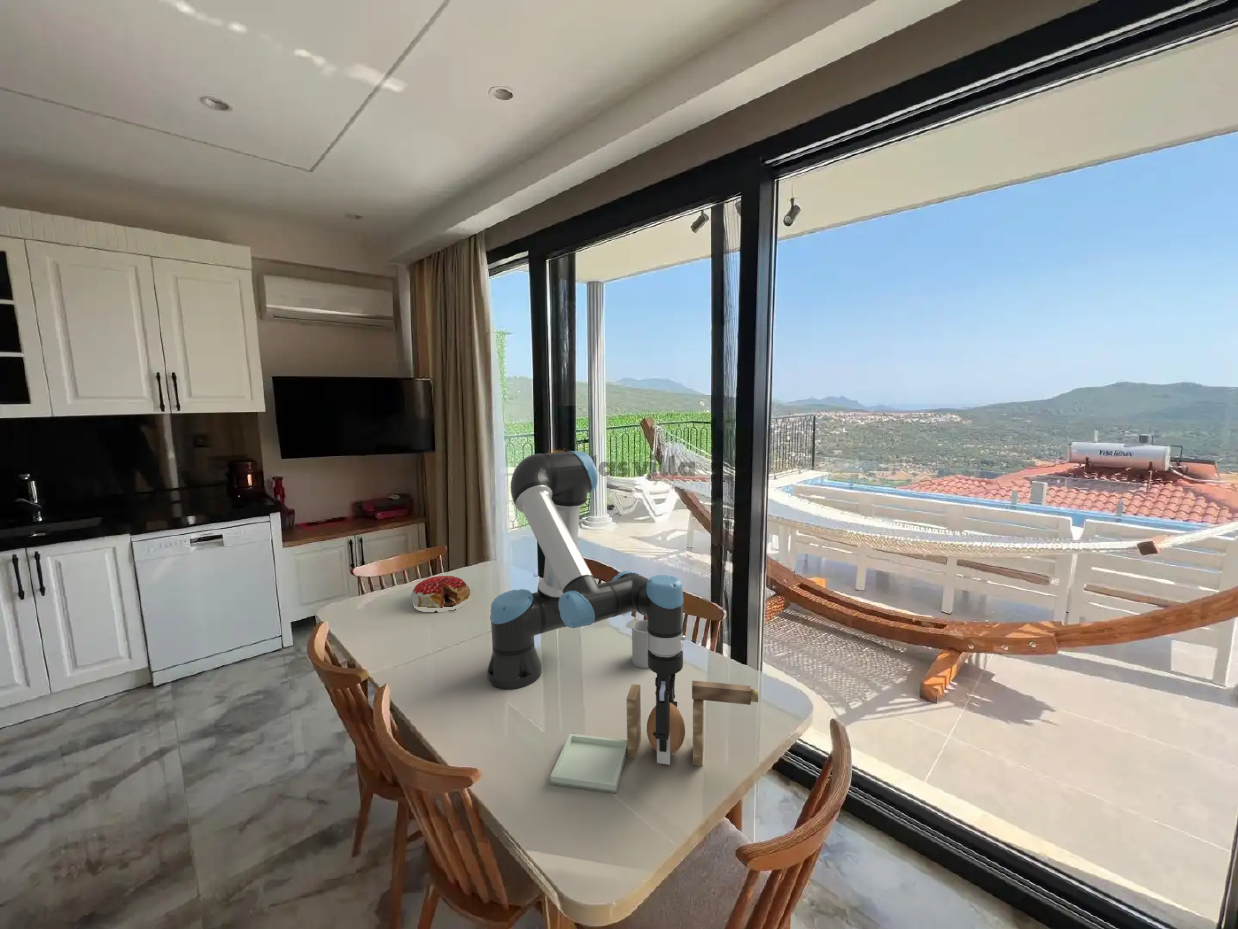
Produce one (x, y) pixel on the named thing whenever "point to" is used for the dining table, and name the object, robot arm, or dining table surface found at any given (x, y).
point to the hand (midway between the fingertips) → (666, 748)
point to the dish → (590, 763)
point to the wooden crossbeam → (724, 692)
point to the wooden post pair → (635, 725)
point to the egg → (674, 729)
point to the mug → (640, 644)
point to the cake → (440, 592)
